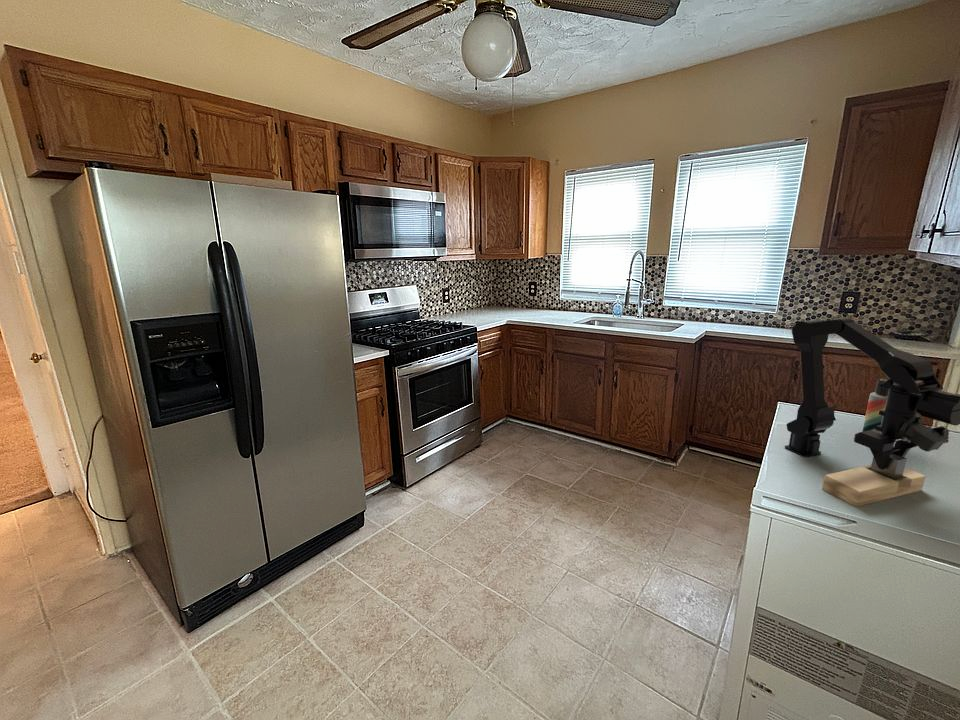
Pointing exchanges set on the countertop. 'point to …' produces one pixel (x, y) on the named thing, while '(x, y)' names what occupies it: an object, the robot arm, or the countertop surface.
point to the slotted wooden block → (870, 485)
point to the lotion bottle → (875, 408)
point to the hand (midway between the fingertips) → (887, 467)
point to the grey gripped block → (891, 467)
